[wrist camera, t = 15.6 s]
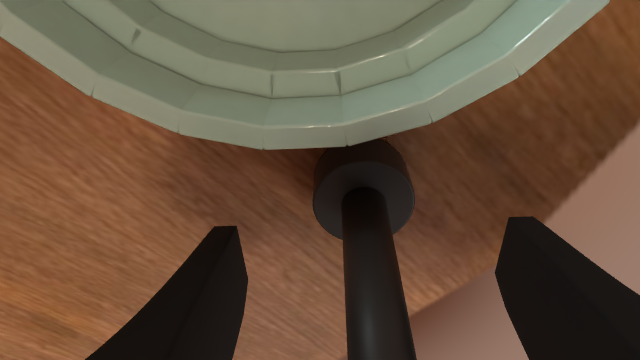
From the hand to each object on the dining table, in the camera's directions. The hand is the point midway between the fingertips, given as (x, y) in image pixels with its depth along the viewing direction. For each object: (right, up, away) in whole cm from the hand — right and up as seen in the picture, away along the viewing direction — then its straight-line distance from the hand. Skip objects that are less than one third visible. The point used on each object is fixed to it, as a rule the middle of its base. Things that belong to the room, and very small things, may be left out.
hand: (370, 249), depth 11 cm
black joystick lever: (0, +2, +3) cm, 4 cm away
